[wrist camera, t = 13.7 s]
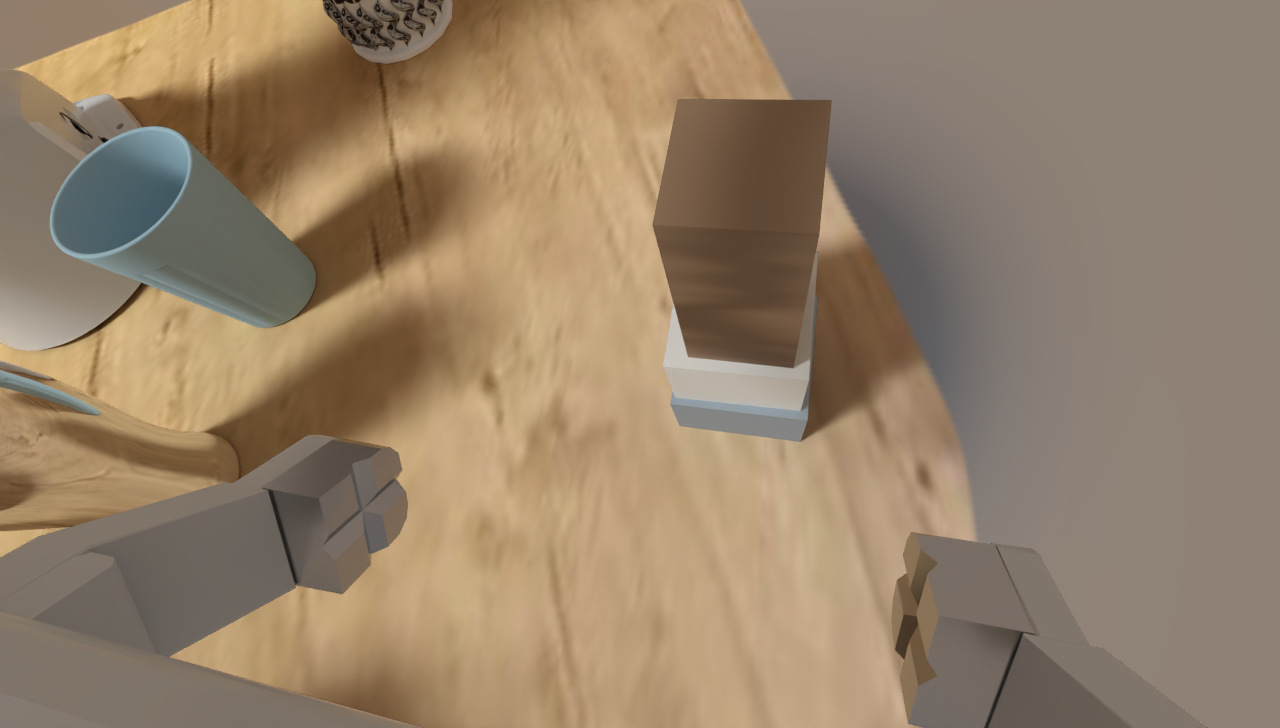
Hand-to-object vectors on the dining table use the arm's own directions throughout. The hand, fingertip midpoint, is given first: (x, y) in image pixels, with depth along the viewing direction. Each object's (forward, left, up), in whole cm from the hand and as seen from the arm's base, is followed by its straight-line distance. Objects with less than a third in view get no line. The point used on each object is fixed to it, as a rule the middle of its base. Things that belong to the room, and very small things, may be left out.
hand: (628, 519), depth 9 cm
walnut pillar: (-6, +7, -12) cm, 15 cm away
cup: (-29, -13, -20) cm, 38 cm away
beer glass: (-20, -22, -20) cm, 36 cm away
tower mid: (-7, +7, -16) cm, 19 cm away
